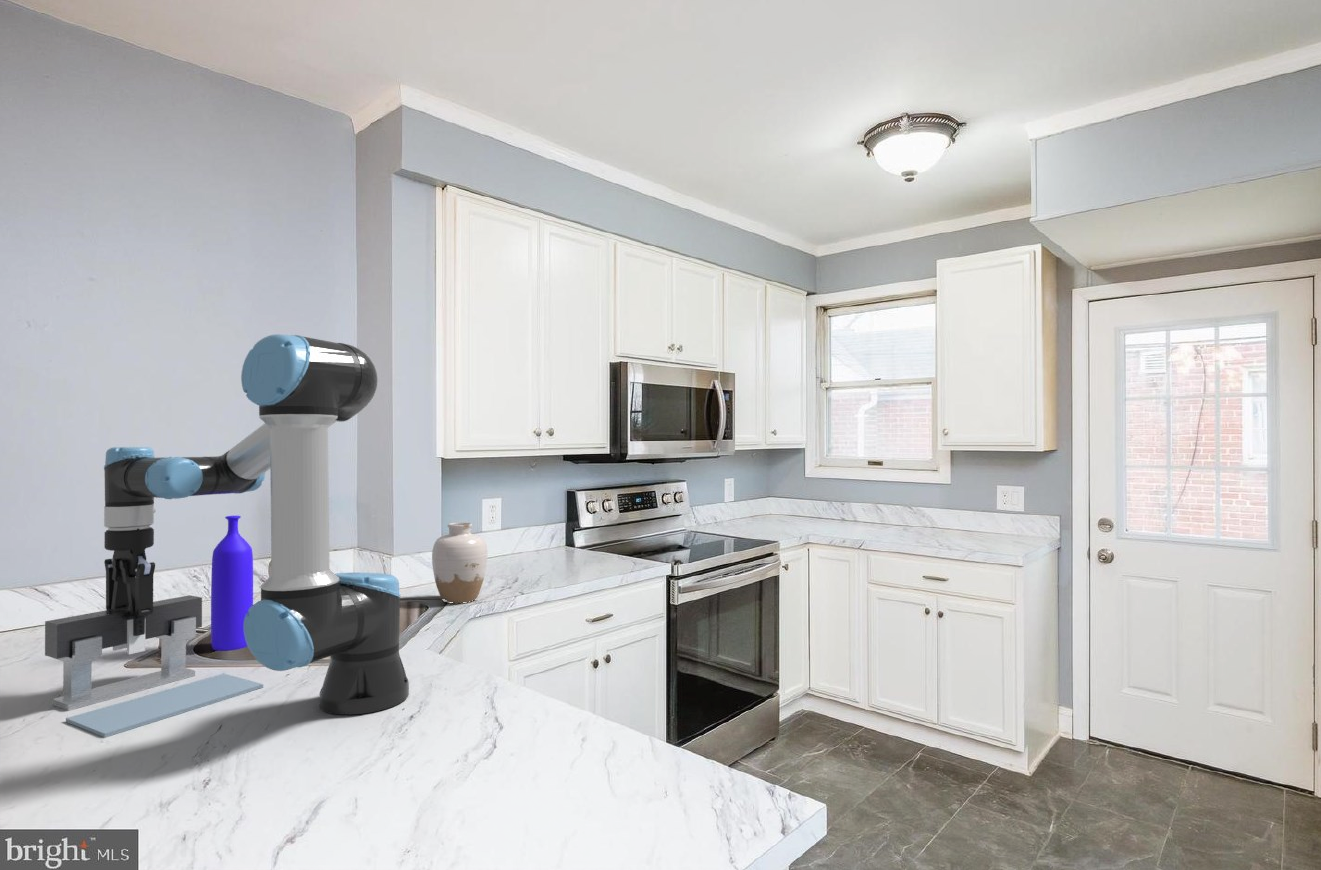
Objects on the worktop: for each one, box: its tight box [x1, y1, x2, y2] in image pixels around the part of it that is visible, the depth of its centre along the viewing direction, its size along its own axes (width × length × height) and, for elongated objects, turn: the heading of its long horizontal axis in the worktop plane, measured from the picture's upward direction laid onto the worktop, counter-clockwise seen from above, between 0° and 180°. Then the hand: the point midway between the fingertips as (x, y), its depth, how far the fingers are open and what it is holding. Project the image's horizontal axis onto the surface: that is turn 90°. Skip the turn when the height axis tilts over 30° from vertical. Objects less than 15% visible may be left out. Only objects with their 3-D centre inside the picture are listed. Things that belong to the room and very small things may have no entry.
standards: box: [51, 617, 197, 711], centre depth 133 cm, size 8×21×12 cm, turn 152°
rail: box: [44, 594, 203, 660], centre depth 133 cm, size 24×4×6 cm, turn 152°
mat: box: [65, 673, 264, 738], centre depth 126 cm, size 13×26×1 cm, turn 152°
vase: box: [431, 522, 488, 604], centre depth 209 cm, size 16×16×23 cm
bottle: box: [210, 515, 254, 652], centre depth 162 cm, size 8×8×30 cm
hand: (128, 650), depth 133 cm, fingers closed on rail, 4 cm apart
